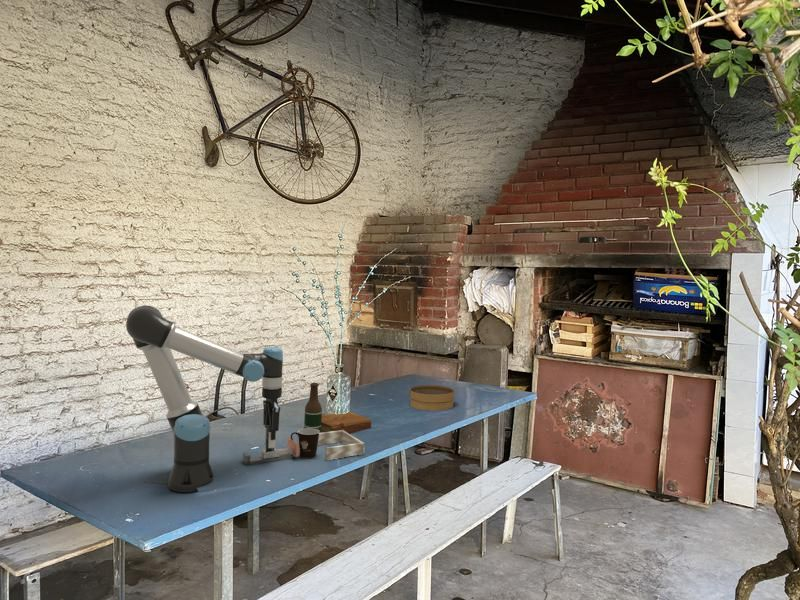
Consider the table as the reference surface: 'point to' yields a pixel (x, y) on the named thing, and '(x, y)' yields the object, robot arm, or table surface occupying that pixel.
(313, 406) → the beer bottle
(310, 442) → the coffee mug
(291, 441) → the rod carriage
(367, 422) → the diary
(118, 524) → the table surface
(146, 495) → the table surface
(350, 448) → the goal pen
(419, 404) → the sieve
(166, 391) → the robot arm
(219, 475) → the table surface
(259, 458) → the rail
